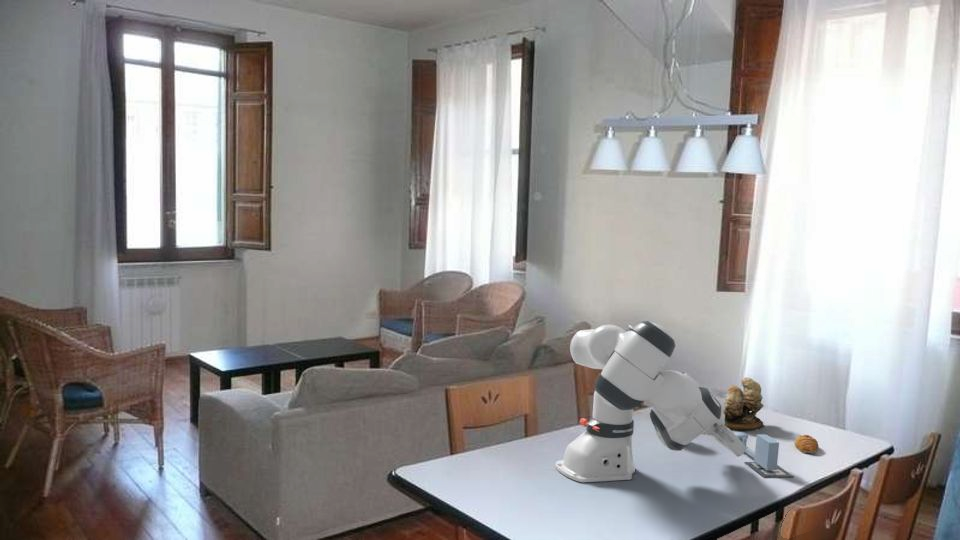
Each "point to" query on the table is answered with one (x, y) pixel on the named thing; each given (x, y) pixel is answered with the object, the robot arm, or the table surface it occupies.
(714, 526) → the table surface
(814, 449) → the pastry
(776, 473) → the label panel
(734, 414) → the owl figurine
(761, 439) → the swing arm
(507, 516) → the table surface
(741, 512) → the table surface
